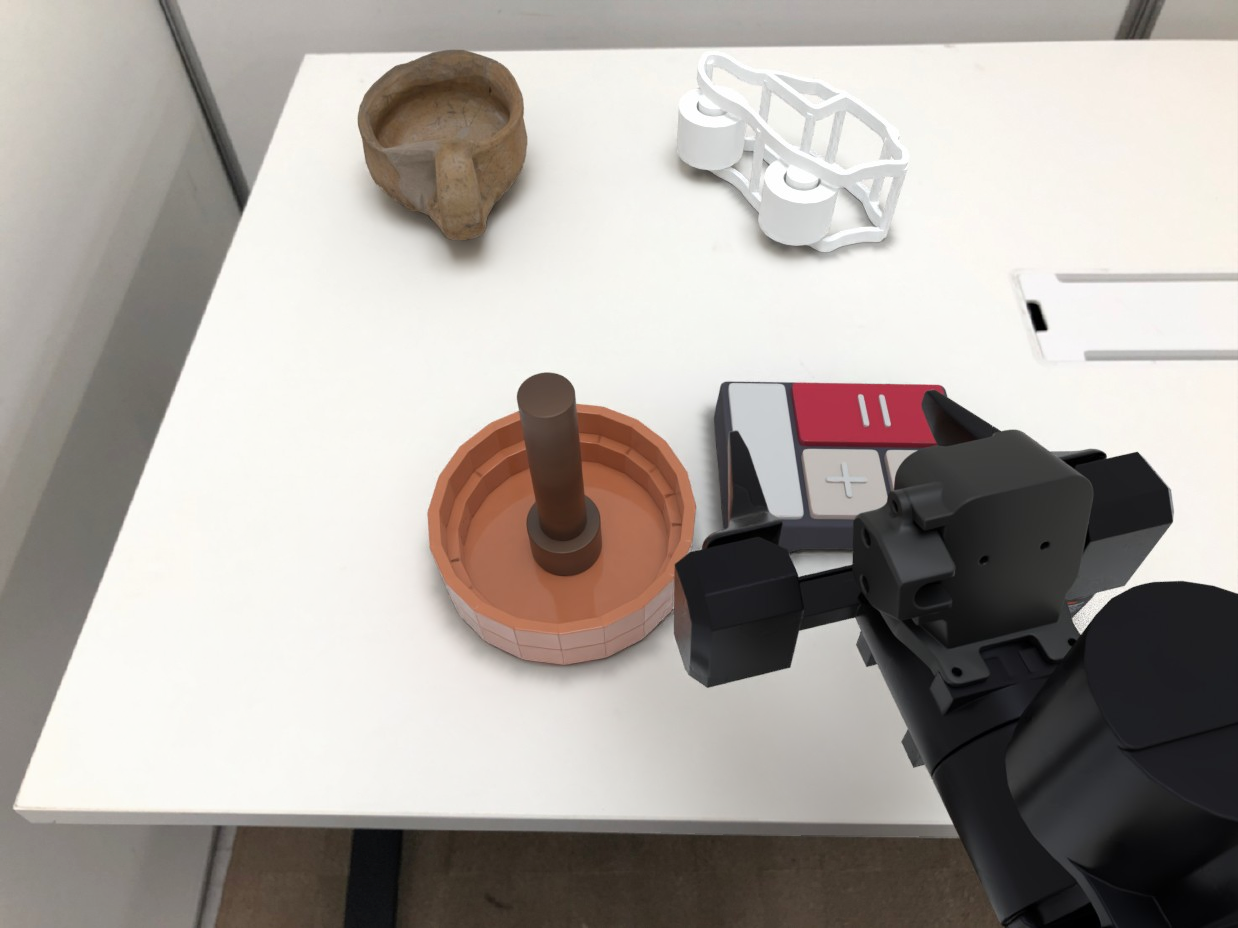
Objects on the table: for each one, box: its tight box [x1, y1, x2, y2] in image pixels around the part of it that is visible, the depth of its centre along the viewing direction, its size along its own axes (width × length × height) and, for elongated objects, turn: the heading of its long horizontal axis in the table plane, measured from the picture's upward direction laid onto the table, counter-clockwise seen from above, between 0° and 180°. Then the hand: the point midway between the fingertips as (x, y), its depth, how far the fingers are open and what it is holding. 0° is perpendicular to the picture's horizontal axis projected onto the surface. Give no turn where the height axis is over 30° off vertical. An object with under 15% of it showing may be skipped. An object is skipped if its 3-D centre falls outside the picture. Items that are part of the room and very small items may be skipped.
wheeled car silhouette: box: [676, 50, 910, 253], centre depth 70 cm, size 20×11×7 cm, turn 33°
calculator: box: [713, 381, 948, 554], centre depth 55 cm, size 11×4×15 cm
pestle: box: [516, 371, 602, 576], centre depth 47 cm, size 4×4×15 cm
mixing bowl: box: [427, 403, 697, 666], centre depth 52 cm, size 15×15×5 cm
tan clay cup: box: [357, 49, 528, 241], centre depth 69 cm, size 18×14×10 cm
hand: (830, 416), depth 38 cm, fingers open, 9 cm apart
